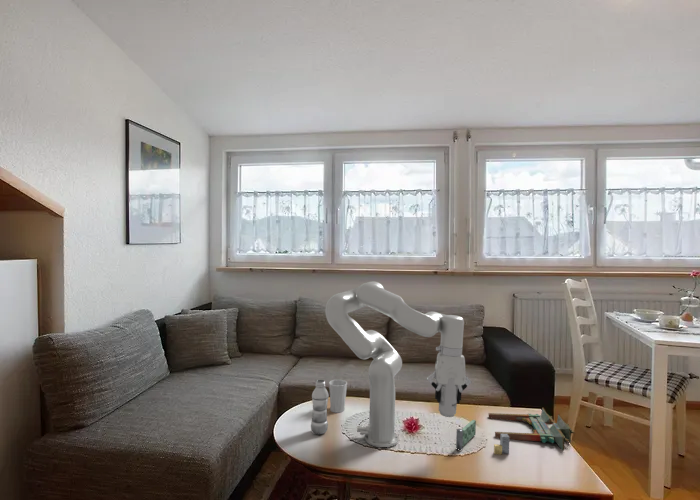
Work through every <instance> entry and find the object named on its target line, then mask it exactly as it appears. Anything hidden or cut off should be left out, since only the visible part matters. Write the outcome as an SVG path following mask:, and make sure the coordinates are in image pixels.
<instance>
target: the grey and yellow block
mask: <svg viewBox="0 0 700 500" xmlns="http://www.w3.org/2000/svg"><path fill="white" fill-rule="evenodd" d="M499 439H500V440H499V441H500V442H499V444H495V443H494V444H493V454H494V455H500V456H501V455H503V454H504V455H505V454H506V455H510V439H509V436H508V434H500V438H499Z"/></svg>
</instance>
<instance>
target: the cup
mask: <svg viewBox="0 0 700 500" xmlns="http://www.w3.org/2000/svg"><path fill="white" fill-rule="evenodd" d="M328 385H329V389H328V390H329V403H330V404H329V405H330V407H329V408H330V409H329V410H330V412H332V413H336V414H337V413H338V414H339V413H344V411H345V410H346V407H345V406H346V399H347V398H346V397H347V388H348V387H347V386H348V381H346V380H345V379H344V380H343V379H332V380H330V381H329V382H328Z"/></svg>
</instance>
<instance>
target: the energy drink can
mask: <svg viewBox="0 0 700 500" xmlns="http://www.w3.org/2000/svg"><path fill="white" fill-rule="evenodd" d="M440 391H441V399H440V403H438V412H439V414H440V415H441V416H443V417H445V418H454V416H455V415H456V413H457V407H458V406H457V404H458V403H457V391H458V385H455V379H454V378H450V379H448V384H447V385H442V386H441V388H440Z"/></svg>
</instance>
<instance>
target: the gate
mask: <svg viewBox="0 0 700 500" xmlns="http://www.w3.org/2000/svg"><path fill="white" fill-rule="evenodd" d="M476 426H477V421H476V419H472V420H471V421H469V423H467V424H466V425H465V426H463V428H461V429H462V430H463V447H465V445H466V444H467V442H468V443H469V441H471V440H472V439H471V438H473V437H475V436H476V429H477V427H476ZM474 435H475V436H474ZM470 439H471V440H470Z"/></svg>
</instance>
